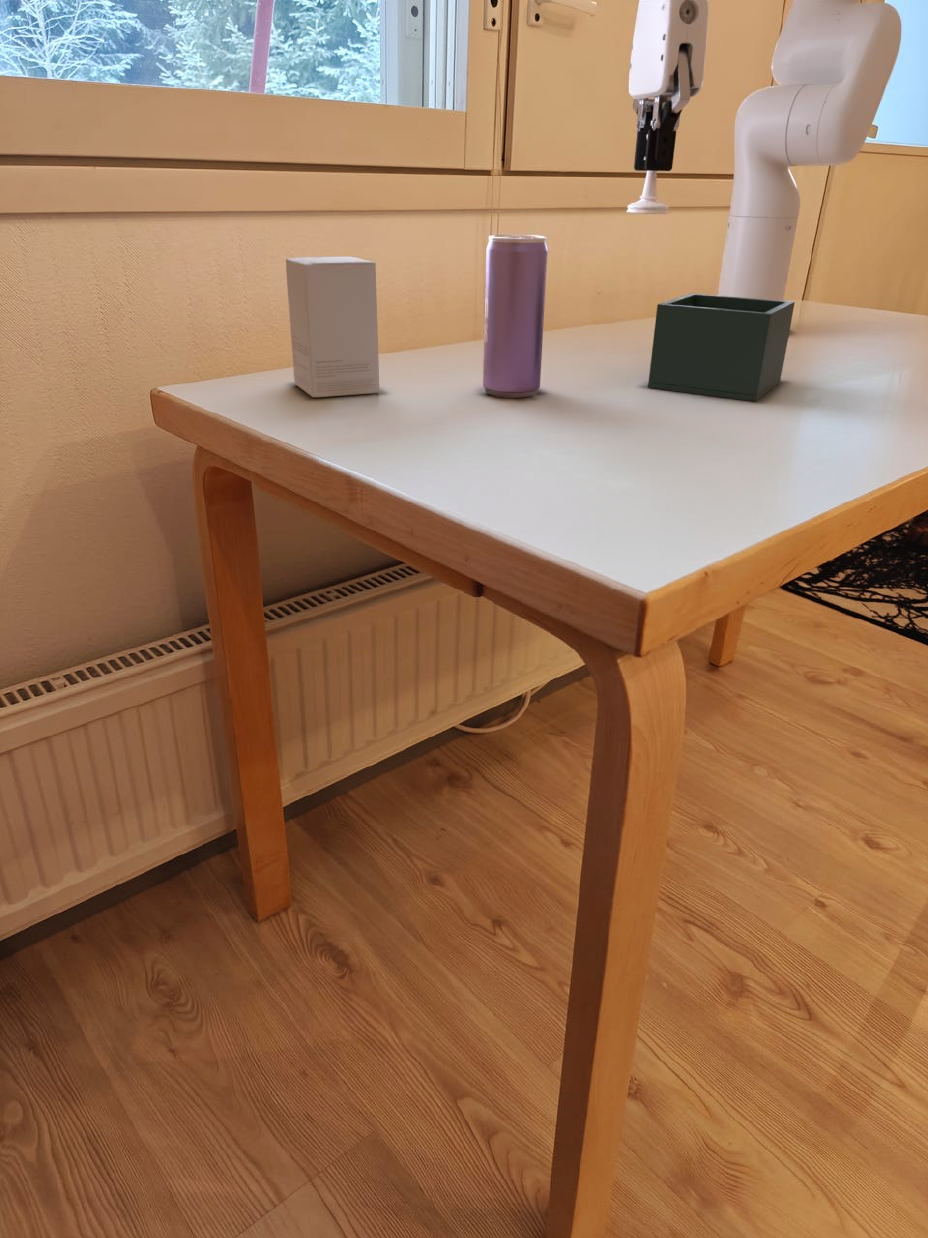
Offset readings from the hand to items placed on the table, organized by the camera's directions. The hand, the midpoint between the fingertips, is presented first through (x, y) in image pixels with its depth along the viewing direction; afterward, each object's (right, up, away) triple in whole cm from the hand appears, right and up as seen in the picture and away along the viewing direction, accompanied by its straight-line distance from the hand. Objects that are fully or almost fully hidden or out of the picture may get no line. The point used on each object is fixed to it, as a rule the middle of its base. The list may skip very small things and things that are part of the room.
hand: (652, 169), depth 99 cm
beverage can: (-17, -28, -9) cm, 34 cm away
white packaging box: (-35, -28, -9) cm, 46 cm away
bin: (+6, -26, -4) cm, 27 cm away
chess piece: (0, -4, +2) cm, 5 cm away
